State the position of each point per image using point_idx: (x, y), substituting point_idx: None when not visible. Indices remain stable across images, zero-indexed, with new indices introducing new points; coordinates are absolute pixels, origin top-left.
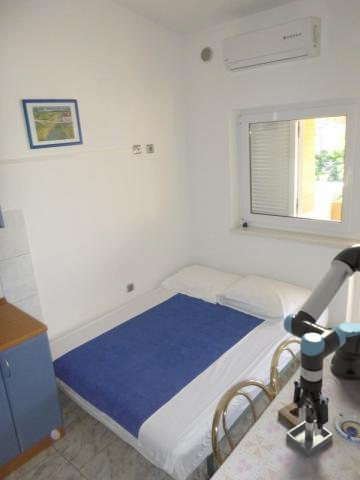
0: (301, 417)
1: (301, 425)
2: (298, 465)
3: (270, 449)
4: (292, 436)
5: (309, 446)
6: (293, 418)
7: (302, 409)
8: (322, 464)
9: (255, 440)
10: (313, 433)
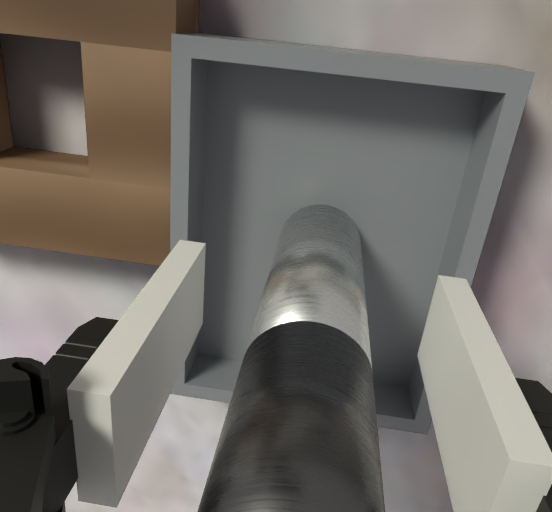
0: (176, 358)
1: (190, 218)
2: (403, 478)
3: (190, 488)
4: (232, 393)
5: (379, 321)
6: (73, 205)
7: (122, 449)
8: (545, 375)
9: (77, 491)
10: (360, 258)
